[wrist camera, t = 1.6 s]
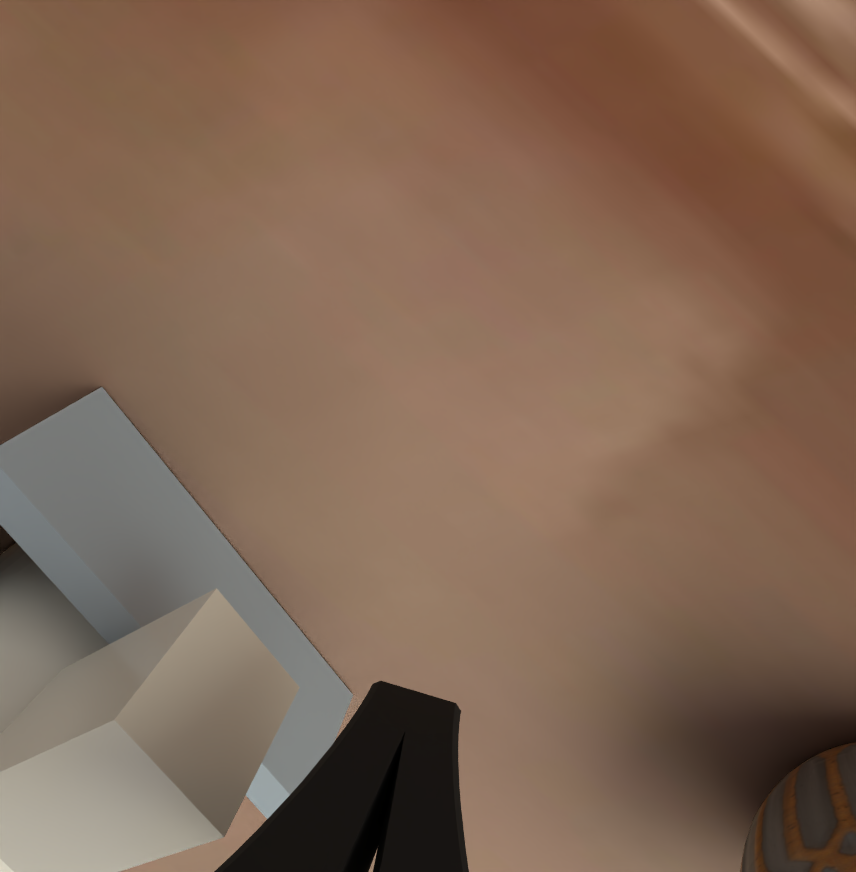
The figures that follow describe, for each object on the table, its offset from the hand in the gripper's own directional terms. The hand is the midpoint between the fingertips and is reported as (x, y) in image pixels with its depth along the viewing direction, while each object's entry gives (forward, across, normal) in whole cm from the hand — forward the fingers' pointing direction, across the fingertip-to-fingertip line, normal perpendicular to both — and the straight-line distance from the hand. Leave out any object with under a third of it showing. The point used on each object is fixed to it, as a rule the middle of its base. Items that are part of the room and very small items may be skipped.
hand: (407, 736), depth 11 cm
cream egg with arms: (+5, +9, +6) cm, 11 cm away
